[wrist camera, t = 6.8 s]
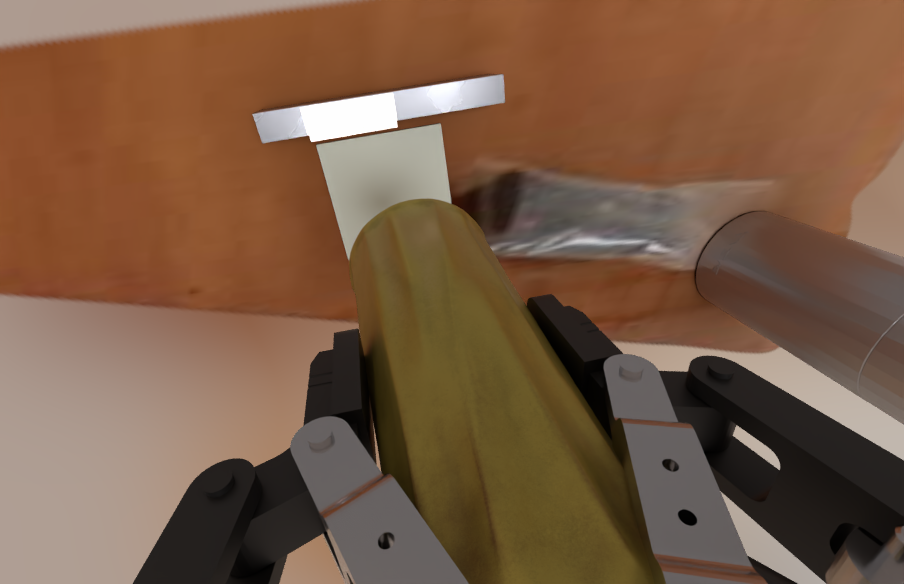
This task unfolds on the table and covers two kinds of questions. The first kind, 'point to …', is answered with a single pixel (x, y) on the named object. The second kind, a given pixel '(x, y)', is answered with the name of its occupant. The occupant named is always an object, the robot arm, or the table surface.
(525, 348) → the vase
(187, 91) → the table surface
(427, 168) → the pad
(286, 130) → the price rail
